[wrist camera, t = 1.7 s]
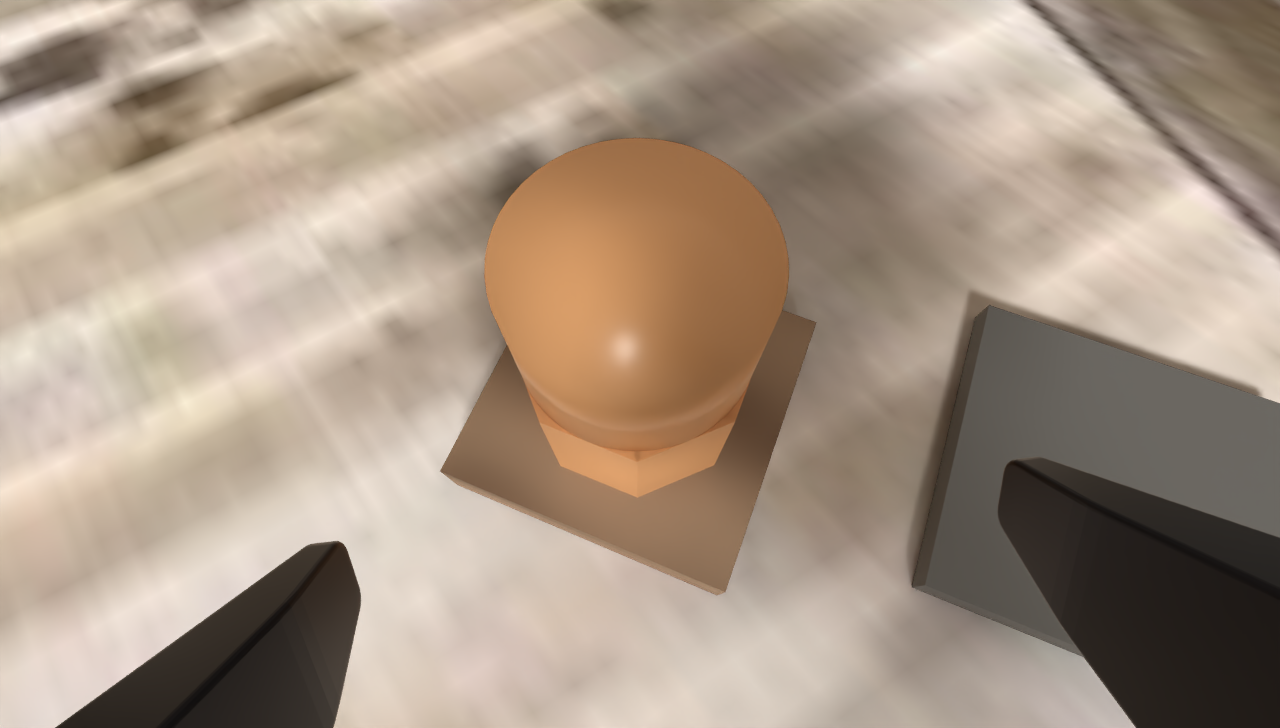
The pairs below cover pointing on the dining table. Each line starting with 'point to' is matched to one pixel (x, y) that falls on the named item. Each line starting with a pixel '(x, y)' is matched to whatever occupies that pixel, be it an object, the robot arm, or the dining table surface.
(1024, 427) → the mat
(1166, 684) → the robot arm
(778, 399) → the post stand
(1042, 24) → the dining table surface
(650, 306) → the orange rounded bulb shape
